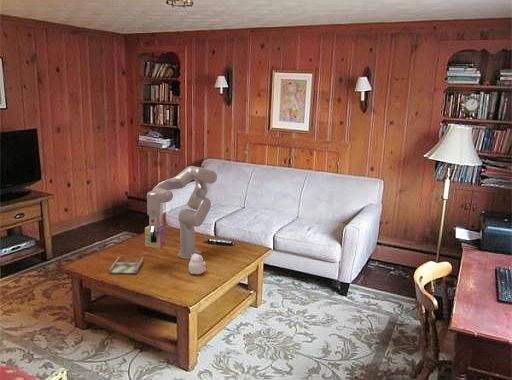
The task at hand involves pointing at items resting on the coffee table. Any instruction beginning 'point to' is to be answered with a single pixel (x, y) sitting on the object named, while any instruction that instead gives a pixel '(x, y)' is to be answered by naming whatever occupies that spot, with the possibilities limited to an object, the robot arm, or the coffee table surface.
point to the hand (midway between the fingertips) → (155, 239)
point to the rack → (126, 266)
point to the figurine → (196, 264)
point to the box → (159, 237)
